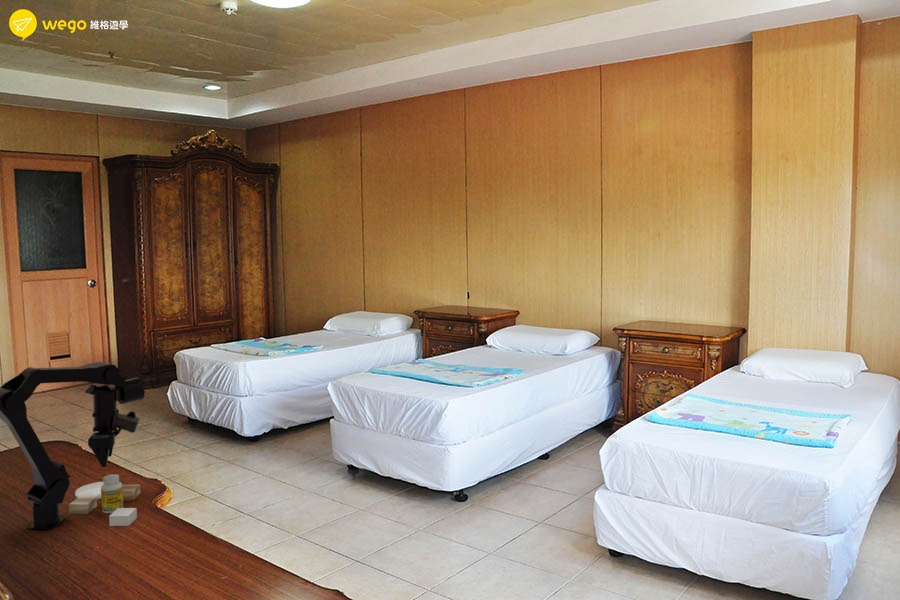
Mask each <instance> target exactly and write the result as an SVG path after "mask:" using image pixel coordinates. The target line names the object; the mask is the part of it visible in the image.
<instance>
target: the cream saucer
mask: <svg viewBox="0 0 900 600" xmlns="http://www.w3.org/2000/svg"><path fill="white" fill-rule="evenodd" d="M103 484H104V483H103V481H96V482H92V483H89V484H84V485H82V486H80V487H78V488H77V489H76V490H75V491H74V494H75V496H74V497H75V499H77V498H78V497H97V500H102V499H101V486H102V485H103Z"/></svg>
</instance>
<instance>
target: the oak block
mask: <svg viewBox="0 0 900 600" xmlns="http://www.w3.org/2000/svg"><path fill="white" fill-rule="evenodd" d="M122 487H123V501H134V500H135V499H136V498H138V497H139V496H140V495H139V494H141V484H122Z"/></svg>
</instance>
